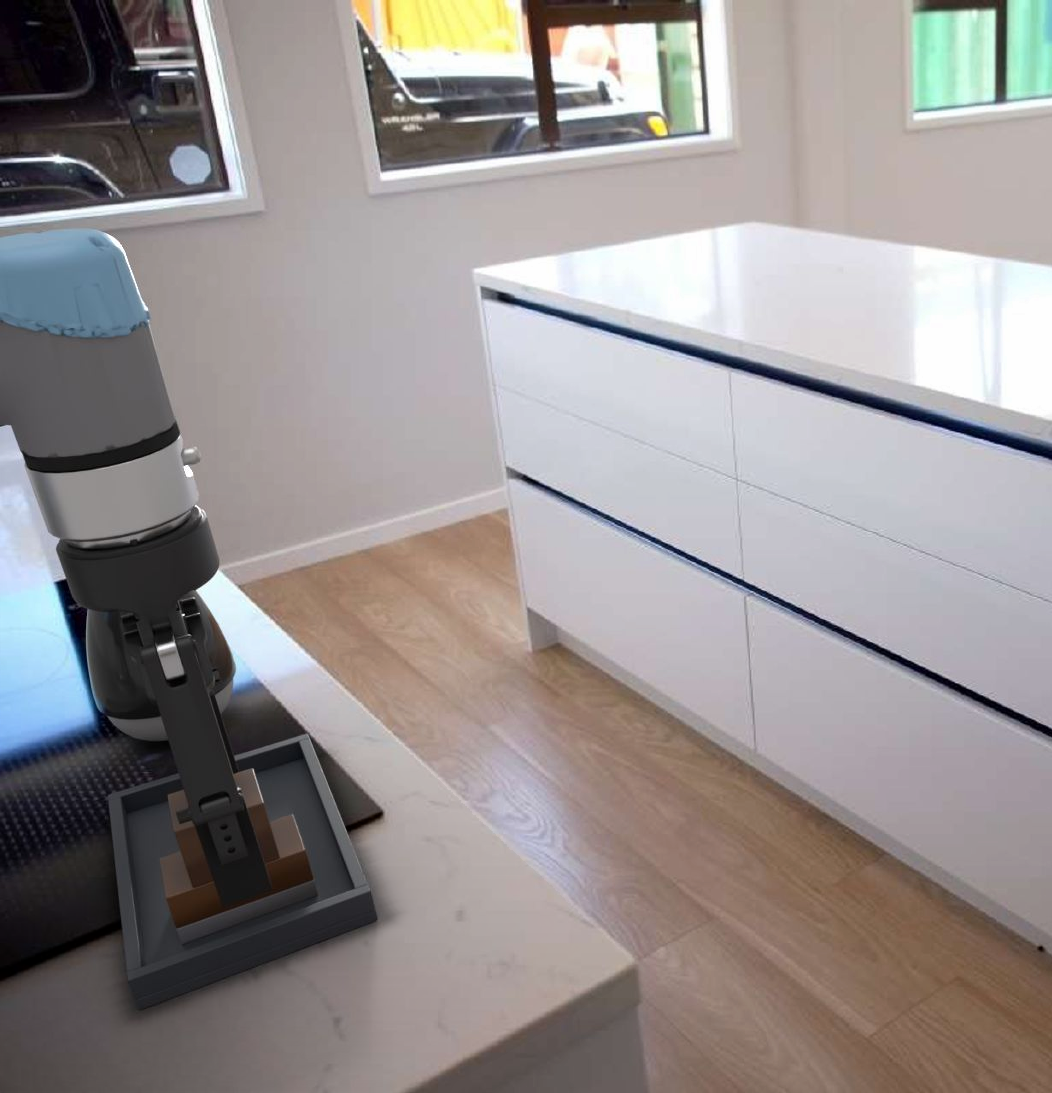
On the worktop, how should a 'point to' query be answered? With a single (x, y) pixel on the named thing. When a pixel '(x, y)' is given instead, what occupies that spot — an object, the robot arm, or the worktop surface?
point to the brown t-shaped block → (193, 881)
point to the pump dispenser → (122, 680)
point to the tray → (180, 968)
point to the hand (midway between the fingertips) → (232, 835)
